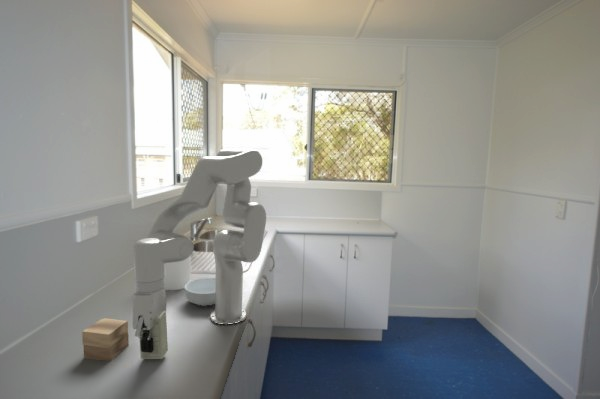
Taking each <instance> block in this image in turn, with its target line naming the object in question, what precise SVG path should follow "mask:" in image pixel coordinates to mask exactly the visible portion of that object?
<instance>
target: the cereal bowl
mask: <svg viewBox="0 0 600 399" xmlns="http://www.w3.org/2000/svg"><path fill="white" fill-rule="evenodd" d="M183 290H184V296H185V299H187V300H188V301H189V302H190V303H192V304H195V305H197V306H200V305H201V306H200V307H207V306H206V305H210V306H212V305H211V304H213V305H215V277H203V278H202V277H201V278H196V279H191V281H190V282H188V283H187V284H186V285H185V287H184V288H183Z"/></svg>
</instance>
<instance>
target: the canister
mask: <svg viewBox="0 0 600 399" xmlns="http://www.w3.org/2000/svg"><path fill="white" fill-rule="evenodd" d="M191 276H192V254H191V255H190V257H188V258H187V259H185V260H183V261H179V262H171V263H165V291H179V290H184V287H185V285H186V284H187V283H188V282H190V281H192V277H191Z"/></svg>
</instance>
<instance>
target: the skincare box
mask: <svg viewBox="0 0 600 399" xmlns="http://www.w3.org/2000/svg"><path fill="white" fill-rule="evenodd" d="M167 324H168V322H167V310H166V311H163V312H162V313H161V314H160V315H159V316H158V317H157V318H156V320H155V326H154V327H153V328H152V336H151V338H153V352H152V353H149V352H142V351H141V339H139V350H140V351H139V352H140V359H141V360H162V359H164V357H165V356H166V354H167V352H168V351H169V348H168V328H167V326H168V325H167ZM144 327H147V326H145V325H144ZM144 333H147V334H148V330H144Z"/></svg>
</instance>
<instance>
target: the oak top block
mask: <svg viewBox="0 0 600 399" xmlns="http://www.w3.org/2000/svg"><path fill="white" fill-rule="evenodd" d="M128 321H129V320H123V319H115V318H108V317H107V318H106V317H105V318H104V317H102V318H101V319H99V320H98V321H96V322H95V323H92V325H90V326H89V327H87V328H85V329H84V330H82V333H81V335H82V336H81V337H82V346H84V345H86V346H94V347H102V348H110V347H112V346H113V345H114V344H115V343H117V342H118V341H119V340H120V339H122V338H123V337H124V336H126V335H127V334H128V335H129V323H128Z"/></svg>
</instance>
